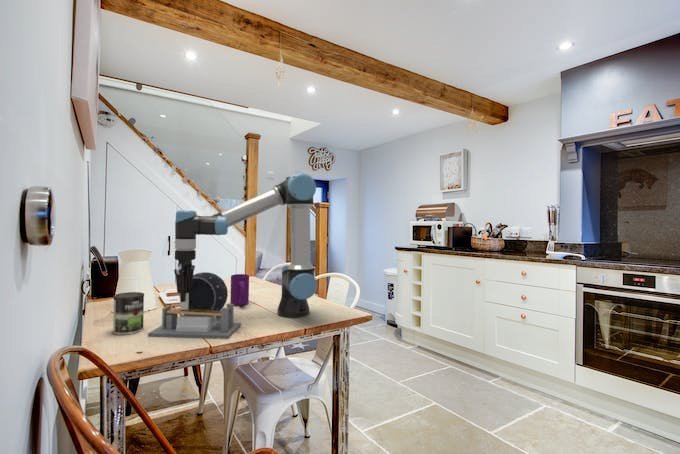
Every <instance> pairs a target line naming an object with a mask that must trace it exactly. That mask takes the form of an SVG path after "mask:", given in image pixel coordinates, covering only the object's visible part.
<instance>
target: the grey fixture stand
mask: <svg viewBox="0 0 680 454" xmlns="http://www.w3.org/2000/svg"><path fill="white" fill-rule="evenodd" d="M171 307H172V305H171V304H169V305H166V306H165V307H163V308H162V309H161V311H162V312H161V316H162V318H161V324H162V325H160V326H157V328H155V329H152V330H151V331H150V332H148V333H147V337H153V338H154V337H155V338H188V339H217V338H220V340H222V339H224V340H228V339H230V338H231V336H232V335H234V333H235V332H236V331H238V329H240V327H241V326H242V325H241V322H234V316H235V315H234V310H235V309H234V307H235V306H234V304H230V303H227V304H226V307H223V308H221V310H220V311H221V316H220V317H221V318H220V319H221V320H220V321H219V322H218V319H217V316H212V315H192V314H181V315H179V314H173V313H167V310H169V309H171ZM229 310H231V311H232V313H231V314H230V315H229ZM178 315H179V316H178Z"/></svg>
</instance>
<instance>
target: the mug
mask: <svg viewBox="0 0 680 454" xmlns="http://www.w3.org/2000/svg"><path fill="white" fill-rule="evenodd" d="M249 293H250V275H249V274H245V273H244V274H242V273H238V274H237V273H236V274H232V275H230V303H229V304H234V307H242V306H244V307H245V306H247V305H248V304H249V299H250V294H249Z"/></svg>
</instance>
